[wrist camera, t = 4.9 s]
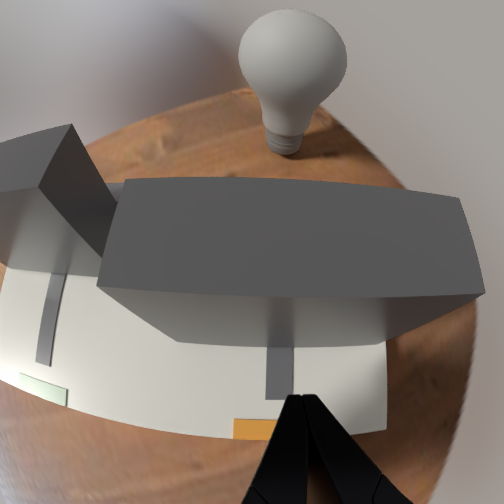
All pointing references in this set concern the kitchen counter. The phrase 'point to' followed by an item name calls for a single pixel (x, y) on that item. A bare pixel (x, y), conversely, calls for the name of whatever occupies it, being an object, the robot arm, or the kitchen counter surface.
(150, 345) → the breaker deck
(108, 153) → the kitchen counter surface
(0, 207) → the block
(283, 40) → the lightbulb
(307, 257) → the block
